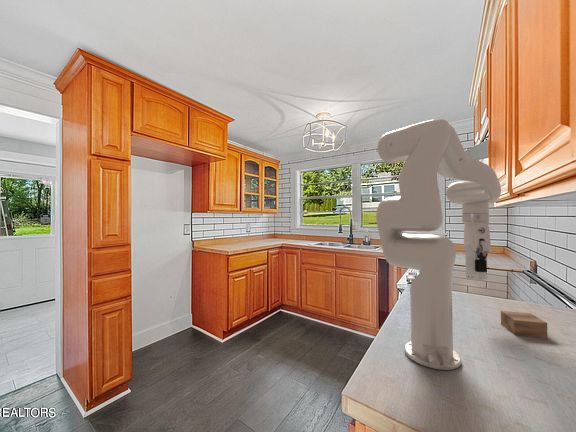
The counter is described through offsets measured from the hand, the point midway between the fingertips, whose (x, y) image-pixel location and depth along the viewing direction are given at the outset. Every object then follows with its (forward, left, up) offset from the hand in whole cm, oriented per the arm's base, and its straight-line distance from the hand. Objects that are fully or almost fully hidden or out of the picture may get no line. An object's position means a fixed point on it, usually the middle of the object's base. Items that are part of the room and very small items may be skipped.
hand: (475, 269), depth 88 cm
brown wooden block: (-6, -10, -18) cm, 21 cm away
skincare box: (0, 0, -3) cm, 3 cm away
